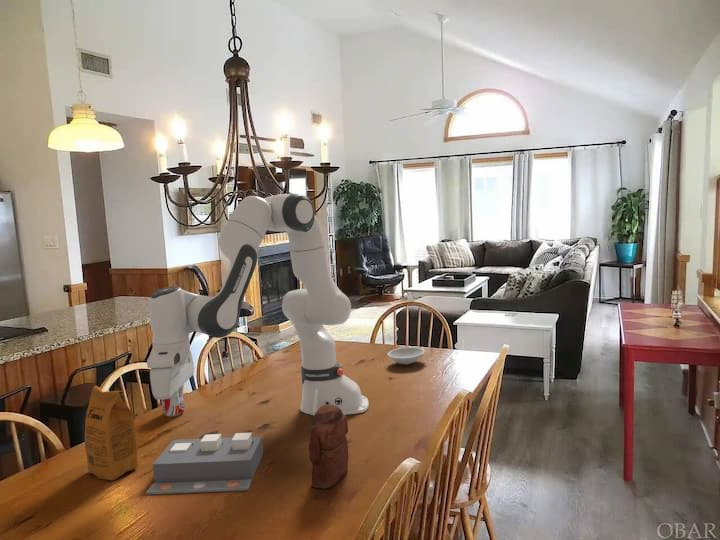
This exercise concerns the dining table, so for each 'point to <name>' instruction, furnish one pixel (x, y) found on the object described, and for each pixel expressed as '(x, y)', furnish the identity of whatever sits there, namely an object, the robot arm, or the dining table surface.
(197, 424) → the dining table surface
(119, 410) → the coffee package
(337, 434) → the wooden figurine
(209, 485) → the pattern card
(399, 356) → the dish
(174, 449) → the outer button
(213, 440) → the middle button
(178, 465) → the button board
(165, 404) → the soda can
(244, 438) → the inner button
